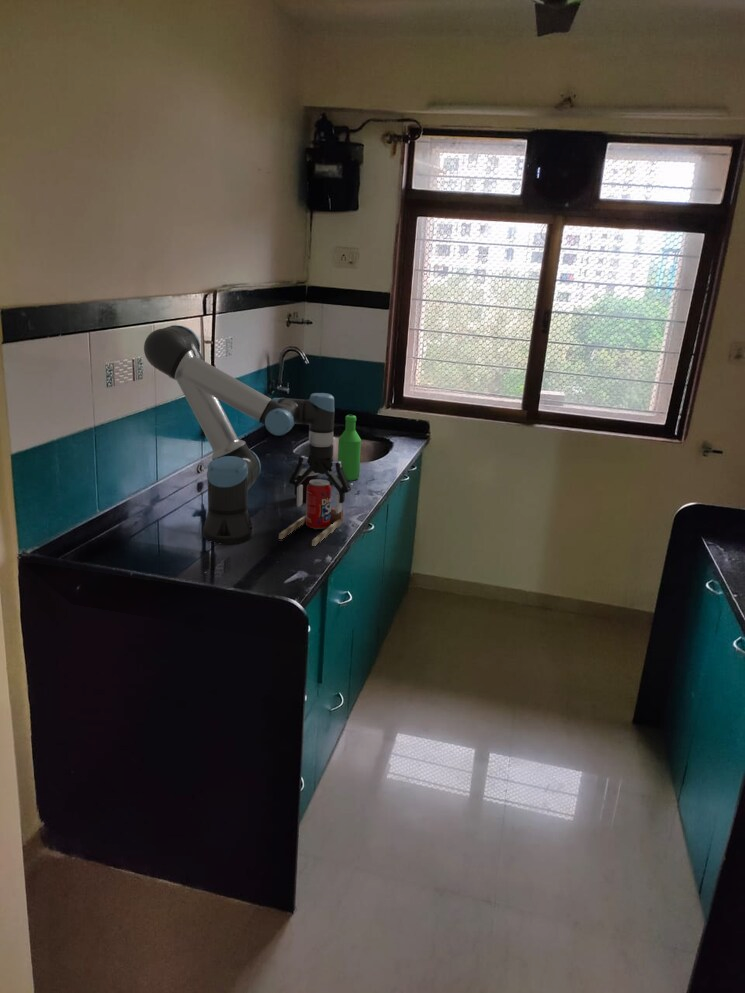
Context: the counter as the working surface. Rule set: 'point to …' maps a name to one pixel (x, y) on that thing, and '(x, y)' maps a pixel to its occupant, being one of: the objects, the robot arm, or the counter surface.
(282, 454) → the counter surface
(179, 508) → the counter surface
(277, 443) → the counter surface
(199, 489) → the counter surface
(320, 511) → the soda can
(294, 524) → the guide track
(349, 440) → the bottle
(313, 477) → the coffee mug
